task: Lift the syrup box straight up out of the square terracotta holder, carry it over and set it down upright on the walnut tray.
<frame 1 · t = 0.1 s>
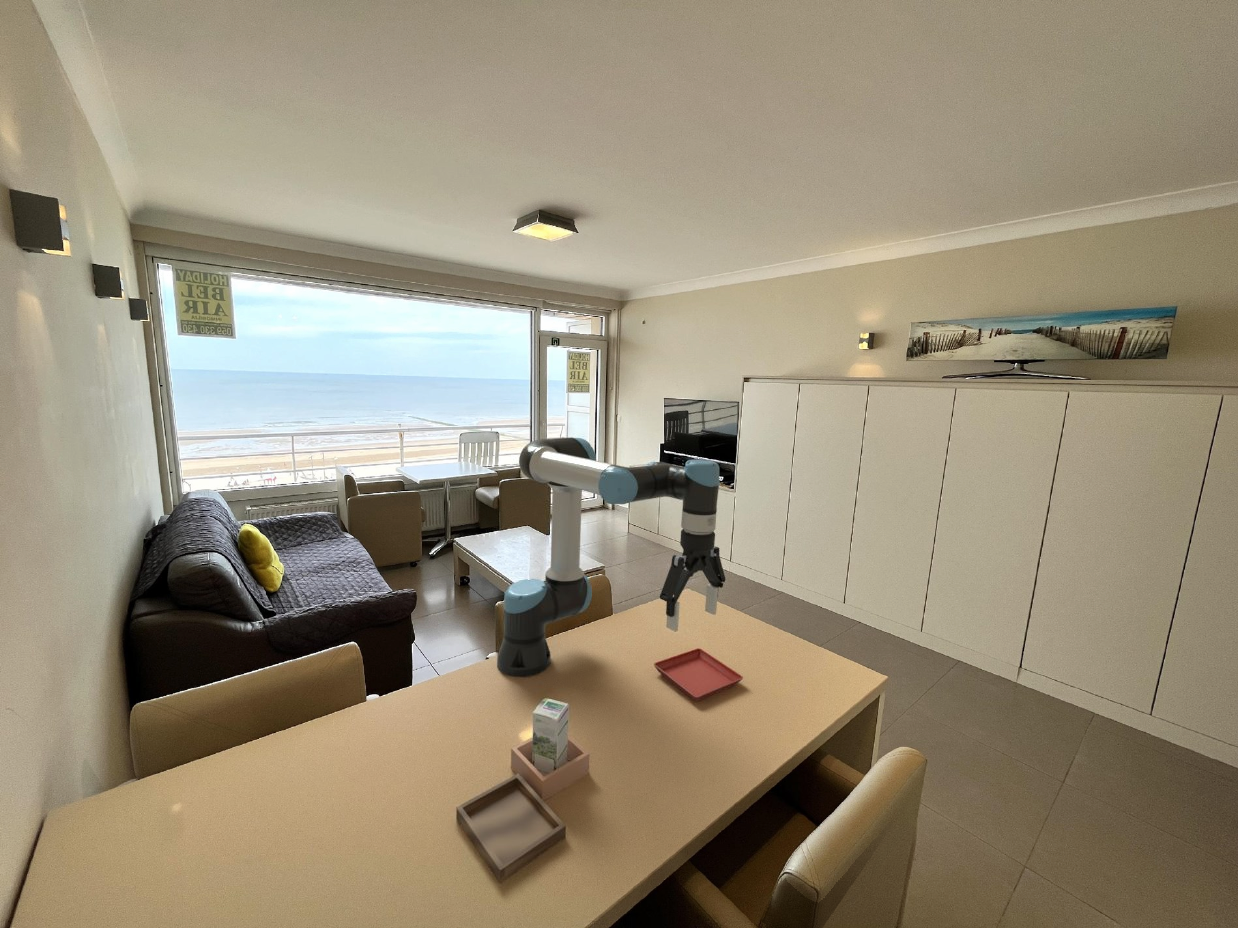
hand: (692, 620, 115), 28 cm above the table, fingers open, 13 cm apart
syrup box: (549, 771, 106), resting in holder
holder: (549, 770, 106), on the table
plant saucer: (696, 681, 141), on the table
tray: (510, 827, 92), on the table
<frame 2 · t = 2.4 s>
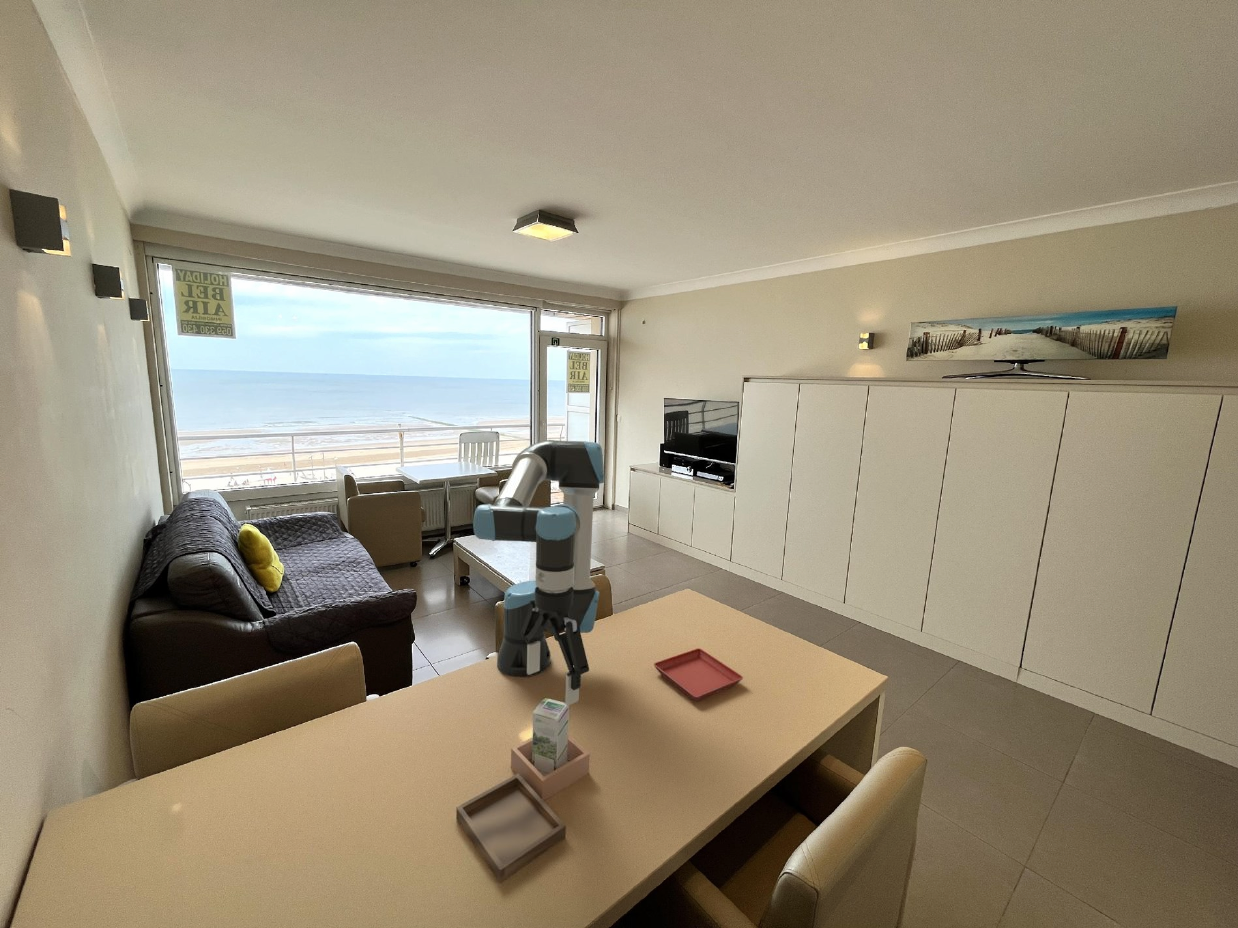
hand: (551, 686, 103), 19 cm above the table, fingers open, 13 cm apart
nothing on the table moved.
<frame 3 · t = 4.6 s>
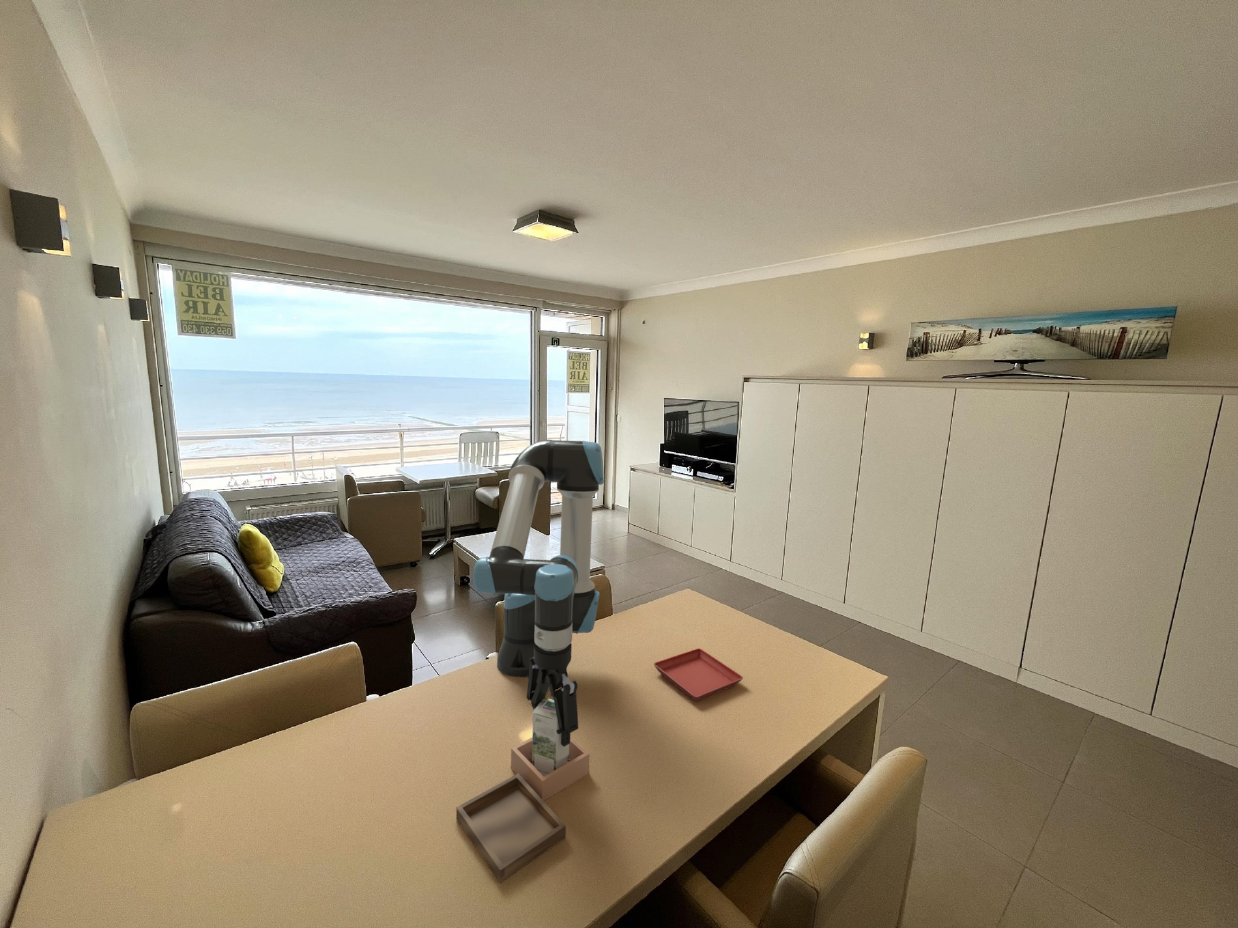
hand: (550, 745, 105), 6 cm above the table, fingers closed on syrup box, 8 cm apart
syrup box: (549, 771, 106), resting in holder, touching gripper
everything else where it was.
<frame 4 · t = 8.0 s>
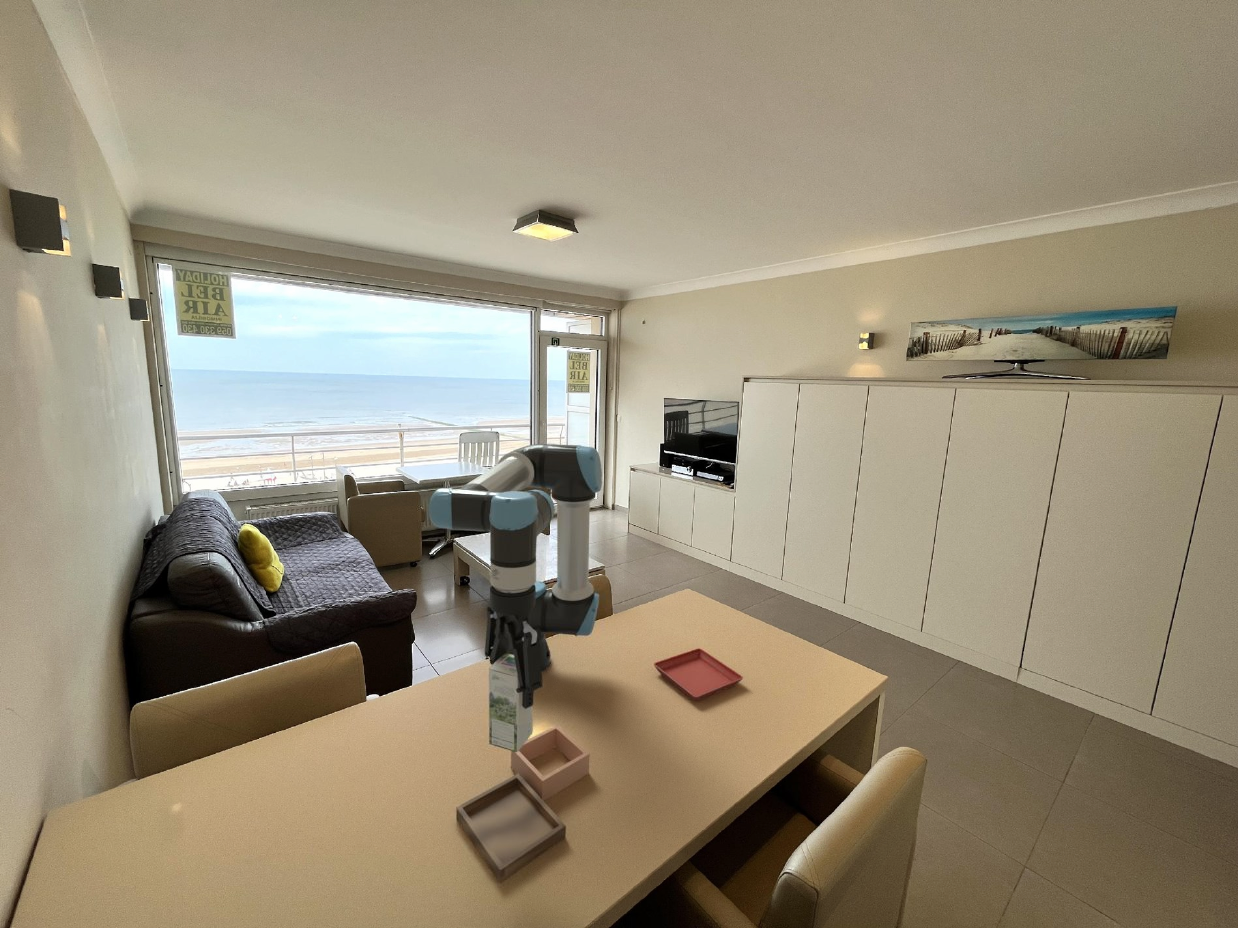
hand: (511, 709, 88), 23 cm above the table, fingers closed on syrup box, 8 cm apart
syrup box: (511, 740, 89), point 18 cm above the table, touching gripper
everything else where it was.
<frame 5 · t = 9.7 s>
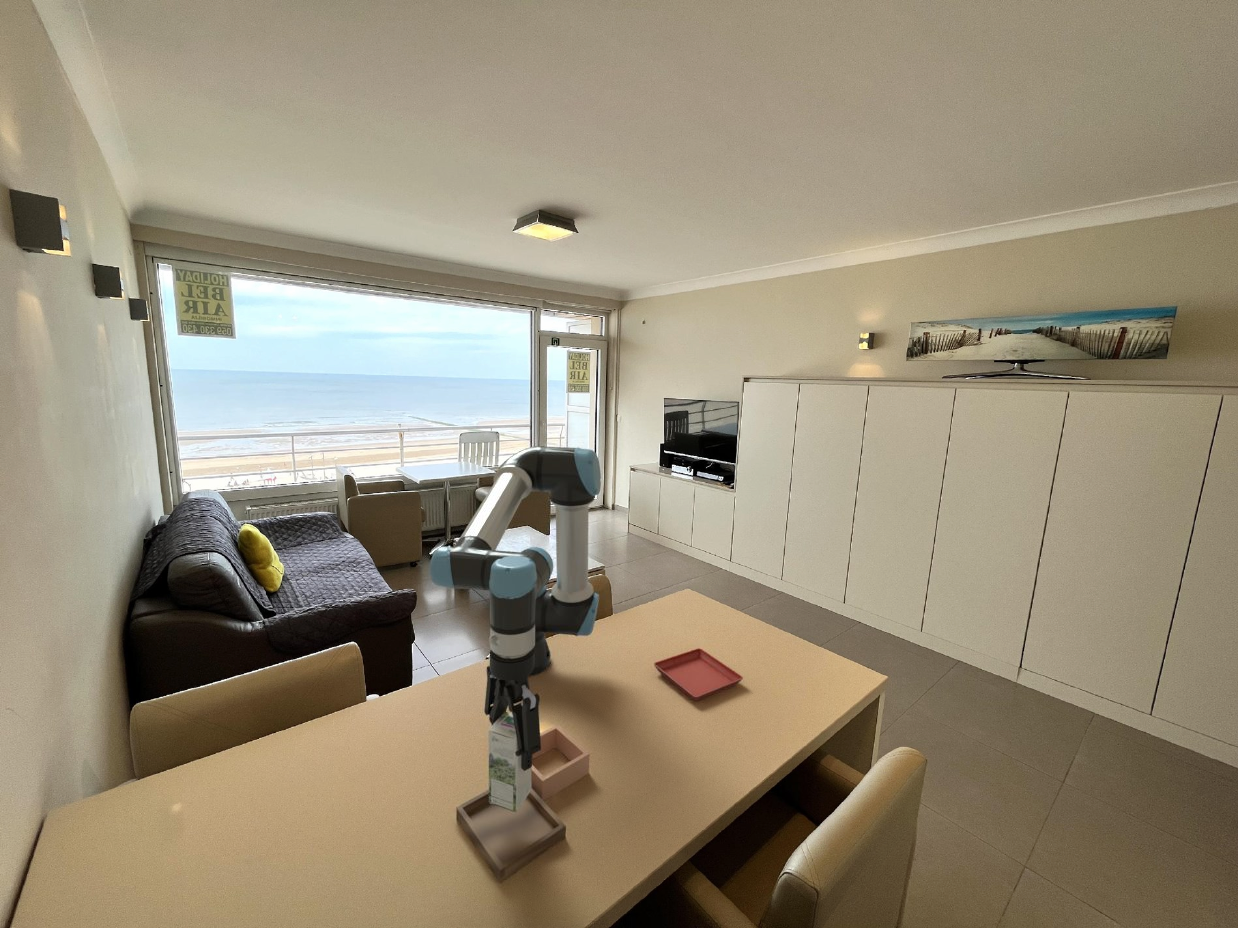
hand: (510, 768, 90), 12 cm above the table, fingers closed on syrup box, 8 cm apart
syrup box: (510, 798, 91), point 6 cm above the table, touching gripper
everything else where it was.
when the fingers open (8 cm above the table, at t = 11.4 s): syrup box drops 2 cm, resting on tray.
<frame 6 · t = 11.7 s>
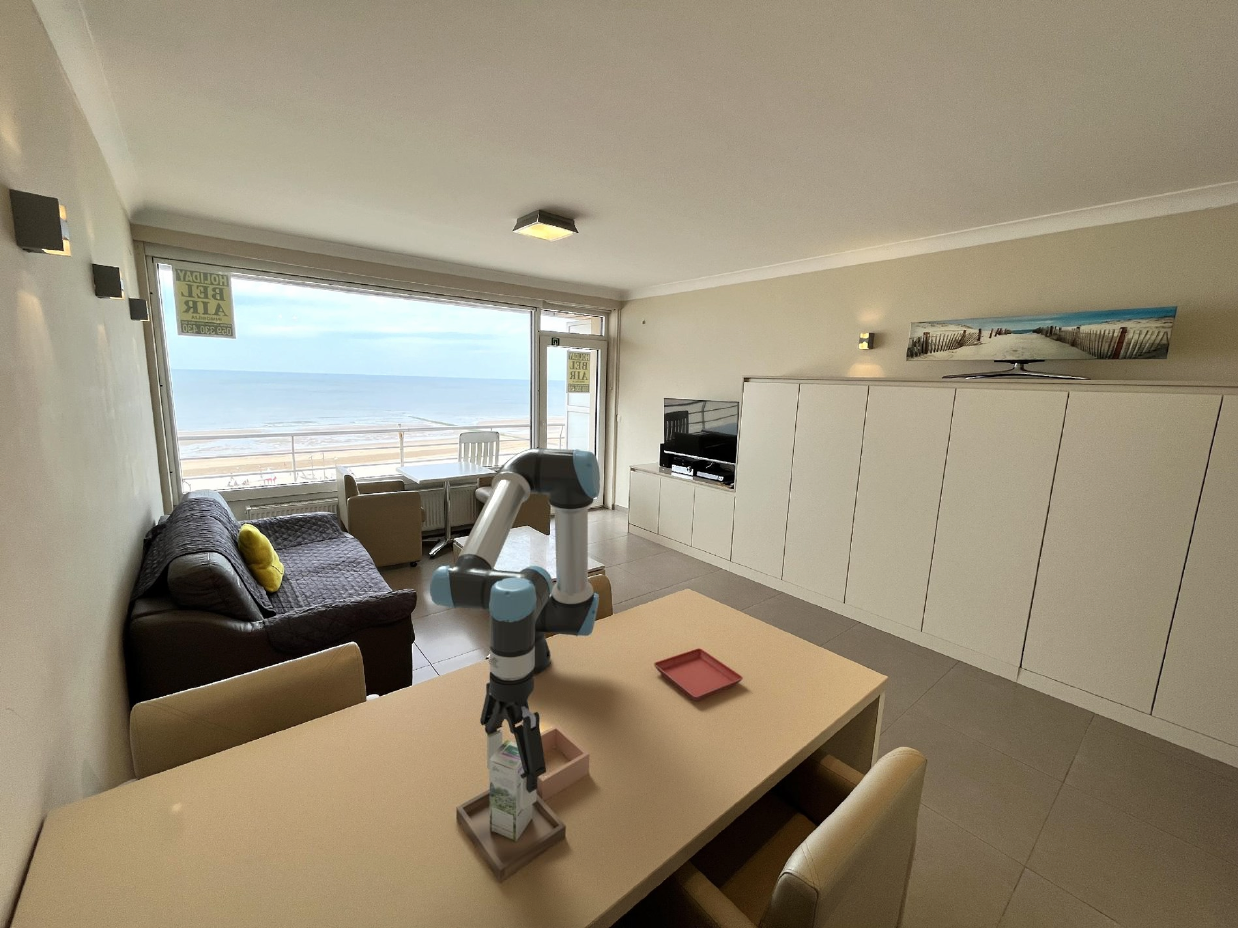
hand: (510, 783, 90), 9 cm above the table, fingers open, 11 cm apart
syrup box: (511, 825, 91), point 1 cm above the table, touching tray
everything else where it was.
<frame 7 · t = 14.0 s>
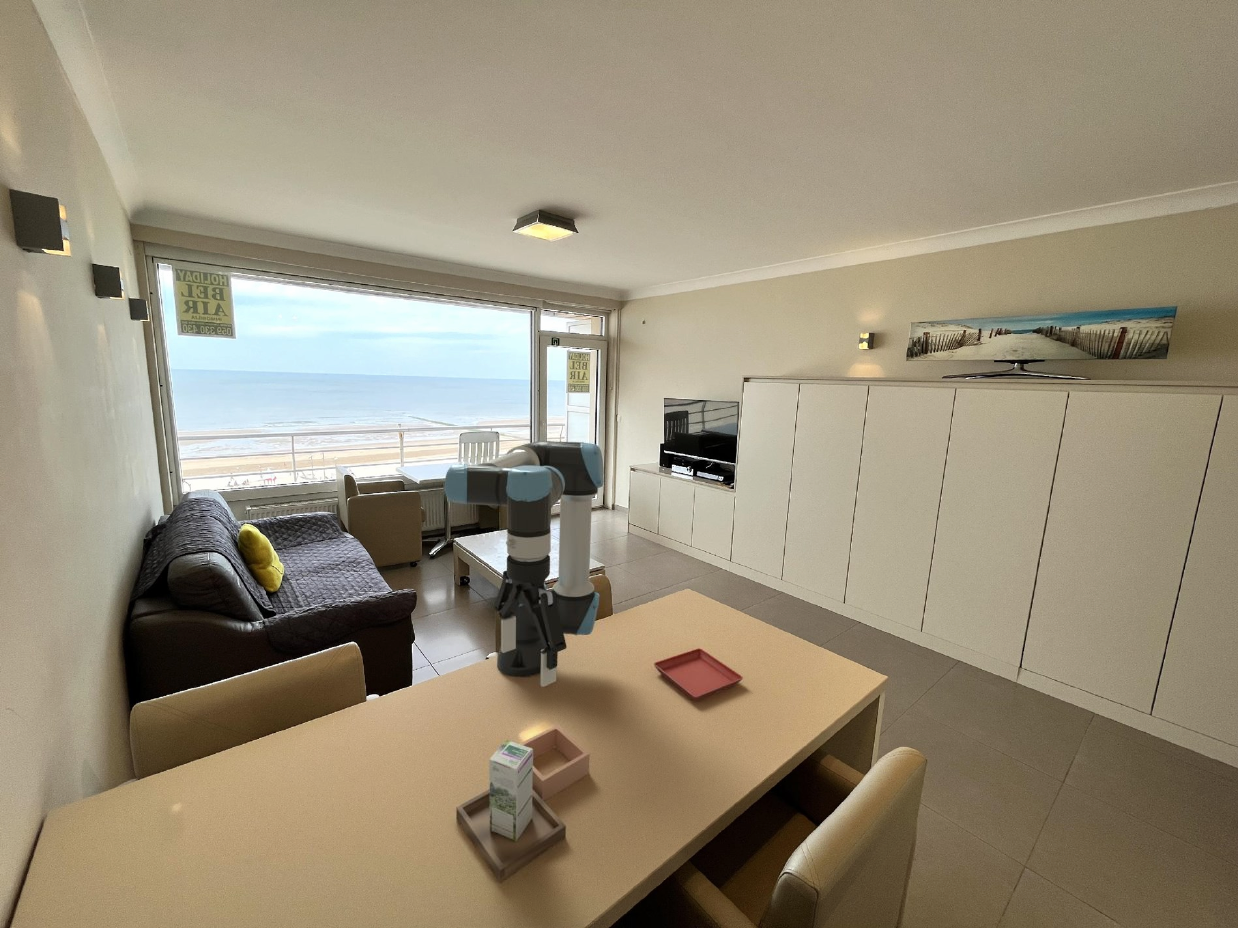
hand: (527, 665, 92), 29 cm above the table, fingers open, 13 cm apart
nothing on the table moved.
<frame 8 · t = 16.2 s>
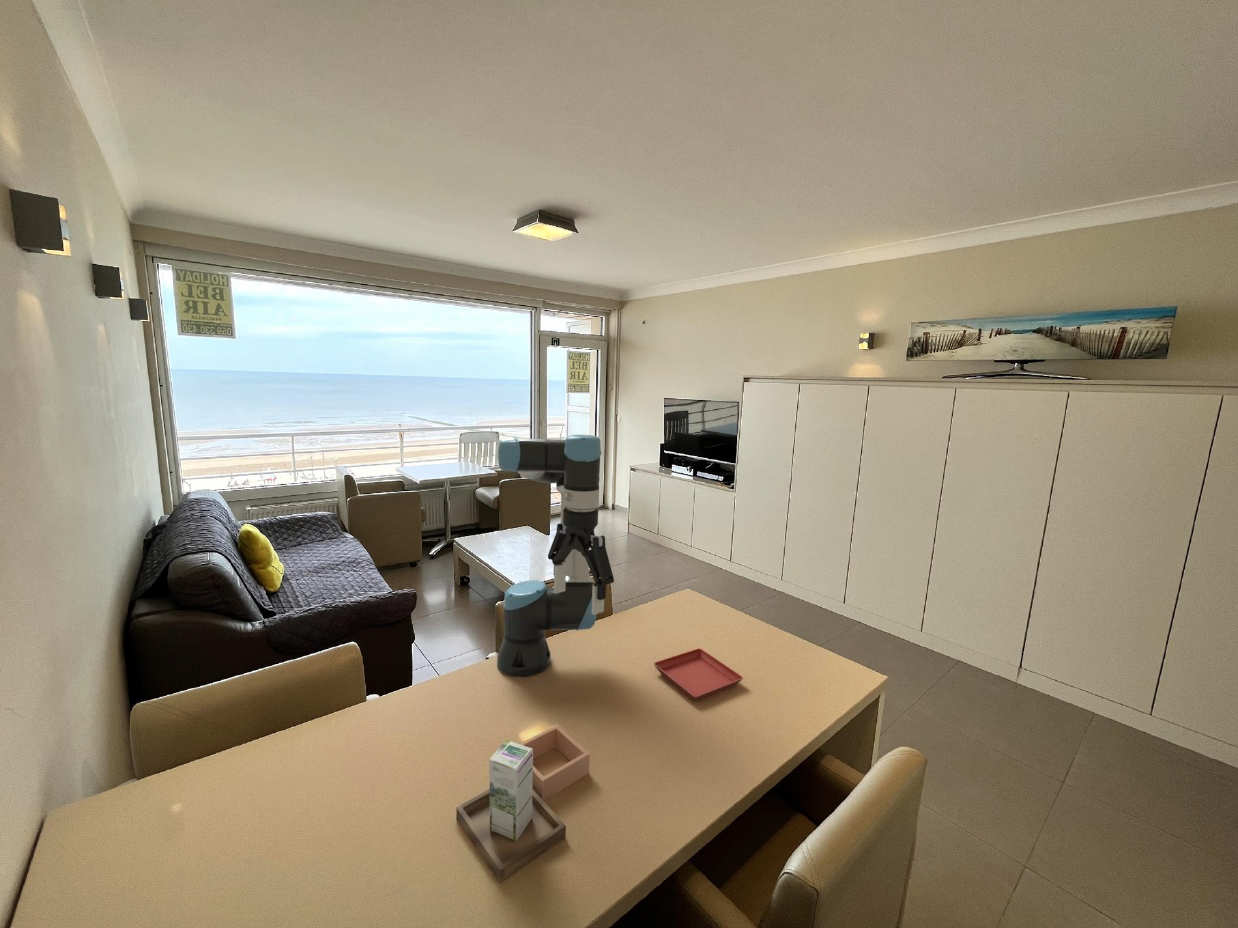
hand: (577, 601, 111), 33 cm above the table, fingers open, 13 cm apart
nothing on the table moved.
at the end: syrup box inside the target area on the tray (0.3 cm from its centre), point 0.6 cm above the tray's base; syrup box tilted 0°; the gripper is holding nothing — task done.
